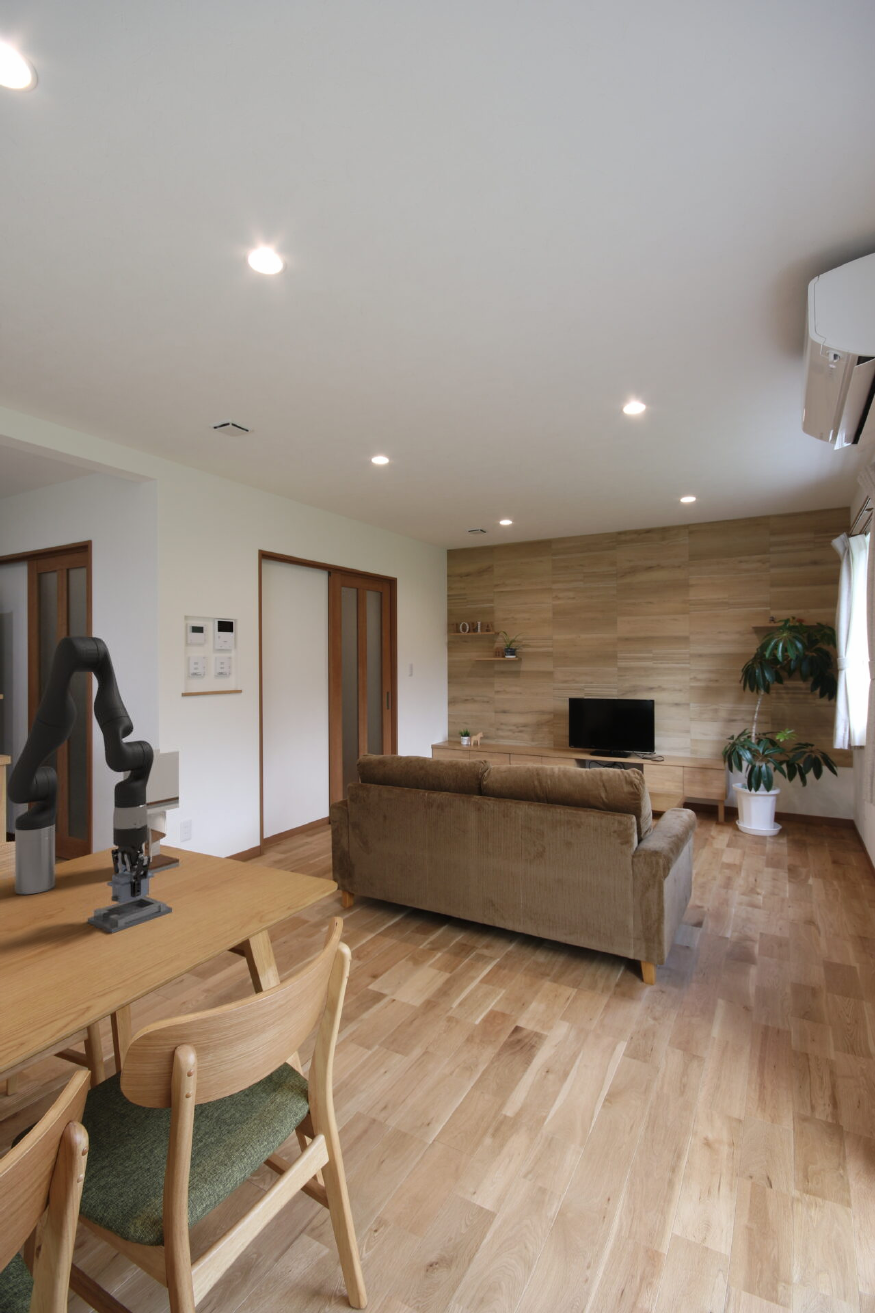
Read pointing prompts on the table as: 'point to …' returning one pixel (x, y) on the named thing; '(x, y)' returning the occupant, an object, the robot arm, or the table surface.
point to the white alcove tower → (160, 806)
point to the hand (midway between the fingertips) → (130, 894)
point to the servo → (127, 887)
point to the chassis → (128, 914)
